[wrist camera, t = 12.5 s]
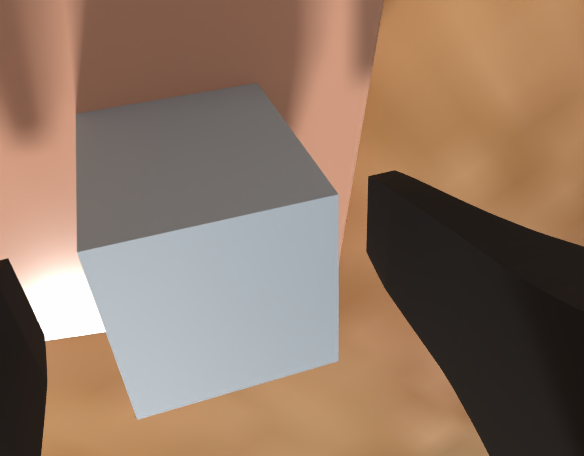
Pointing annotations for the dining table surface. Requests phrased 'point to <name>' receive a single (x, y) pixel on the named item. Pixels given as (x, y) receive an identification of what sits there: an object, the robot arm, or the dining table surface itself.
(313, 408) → the dining table surface
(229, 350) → the slate block
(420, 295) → the robot arm
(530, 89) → the dining table surface
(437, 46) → the dining table surface
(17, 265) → the salmon pink tile
